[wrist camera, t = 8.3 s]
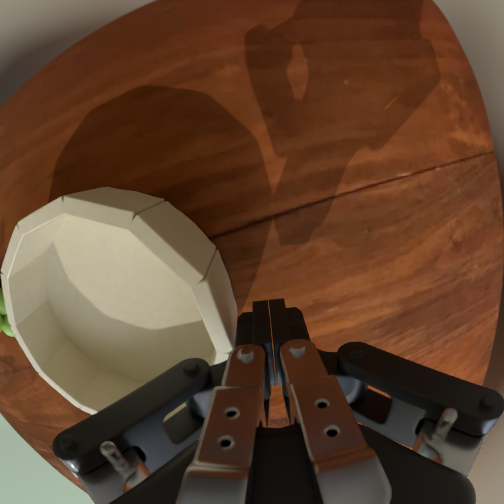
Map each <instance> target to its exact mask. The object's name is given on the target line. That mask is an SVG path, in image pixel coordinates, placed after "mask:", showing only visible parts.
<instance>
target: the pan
mask: <svg viewBox="0 0 504 504" xmlns="http://www.w3.org/2000/svg"><path fill="white" fill-rule="evenodd" d="M1 282H2V289H3V296H4V302H5V307H6V313H7V317H8V322H9V324H10V328H11V330H12V331H13V333H14V335H15V337H16V339H17V341H18V342H19V344H20V346H21V348H22V349H23V351H24V353H25V354H26V356H27V358H28V359H29V361H30V362H31V364H32V365H33V367H34V369H35V370H36V371H37V372H39V373H38V374H39V375H40V376H41V377H42V378H43V379H44V380H45V381H47V382H48V383H49V384H50V385H51V386H52V387H53V388H54V389H56V390H57V391H58V392H59V393H60V394H61V395H63V396H64V397H65V398H66V399H67V400H69V401H70V402H71V403H72V404H74V405H75V406H76V407H77V408H79V407H80V409H81V410H83V411H85V412H87V413H90V414H92V415H94V414H95V413H97V412H99V411H101V410H102V409H104V408H106V407H107V406H109V405H111V404H113V403H114V402H116V401H118V400H119V399H121V398H123V397H124V396H126V395H128V394H129V393H131V392H133V391H134V390H136V389H138V388H139V387H141V386H143V385H144V384H146V383H147V382H149V381H151V380H152V379H154V378H155V377H157V376H159V375H160V374H162V373H163V372H165V371H167V370H168V369H170V368H171V367H173V366H174V365H176V364H177V363H179V362H181V361H183V360H185V359H188V358H201V359H204V360H205V361H207V362H208V364H209V366H211V365H214V364H218V363H221V362H224V361H226V360H227V359H228V356H229V353H230V351H231V350H232V349H234V348H235V337H236V325H237V312H238V311H237V304H236V301H235V298H234V295H233V291H232V287H231V283H230V279H229V276H228V274H227V271H226V269H225V266H224V264H223V261H222V259H221V256H220V253H219V250H216V246H215V245H214V244H213V243H212V242H211V241H210V240H209V239H208V238H207V236H206V235H205V234H204V233H203V232H202V231H201V230H200V229H199V228H198V226H197V225H196V224H195V223H194V222H193V221H191V220H190V219H189V218H188V217H187V216H185V215H184V214H183V213H182V212H181V211H179V210H177V209H176V208H175V207H174V206H172V205H171V204H170V203H169V202H168V201H166V202H164V199H163V198H158V197H154V196H151V195H147V194H144V193H140V192H137V191H130V190H121V189H117V188H112V187H102V188H96V189H91V190H87V191H82V192H77V193H73V194H68V195H64V196H60V197H59V198H57V199H55V200H53V201H51V202H50V203H48V204H46V205H44V206H43V207H41V208H39V209H38V210H36V211H34V212H33V213H31V214H29V215H28V216H26V217H24V218H23V219H21V220H20V221H18V224H17V225H16V226H15V229H14V231H13V234H12V237H11V239H10V242H9V245H8V248H7V251H6V254H5V257H4V261H3V264H2V267H1ZM185 406H186V404H185V403H183V404H182V405H180V406H179V407H178V408H176V409H175V410H173V411H172V412H171V413H169V414H168V415H167V416H166V417H165V419H164V421H165V420H167V419H168V418H170V417H171V416H173V415H174V414H175V413H177V412H178V411H180V410H181V409H182V408H184V407H185Z"/></svg>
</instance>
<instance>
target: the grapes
mask: <svg viewBox="0 0 504 504" xmlns="http://www.w3.org/2000/svg"><path fill="white" fill-rule="evenodd" d="M2 329H3V331H4V332H5V333H6V334H7V335H8V336H12V337H14V336H15V335H14V333H13V331H12V330H11V328H10V324H9V322H8V317H7V313H6V307H5V302H4V296H3V289H2V288H0V332H1V330H2Z"/></svg>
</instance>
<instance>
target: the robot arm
mask: <svg viewBox="0 0 504 504" xmlns="http://www.w3.org/2000/svg"><path fill="white" fill-rule="evenodd" d="M269 307H270V317H271V327H272V337H273V347H274V358H275V368H276V379H277V386H279V385H282V390H283V401H284V405H285V410H286V414H287V419H288V423H289V426H286V427H283V428H269V422H270V403H271V400H270V396H271V386H276V383H275V371H274V360H273V349H272V338H271V328H270V318H269V308H268V300H264V301H254V302H253V312H244V313H242V314H241V315H240V316H239V318H238V320H237V331H236V339H235V348H234V349H232V350H231V351H230V353H229V356H228V359H227V360H226V361H224V362H221V363H218V364H214V365H211V366H209V364H208V362H207V361H205V360H204V359H201V358H188V359H185V360H183V361H181V362H179V363H177V364H176V365H174V366H173V367H171V368H170V369H168V370H167V371H165V372H163V373H162V374H160V375H159V376H157V377H155V378H154V379H152V380H151V381H149V382H147V383H146V384H144V385H143V386H141V387H139V388H138V389H136V390H134V391H133V392H131V393H129V394H128V395H126V396H124V397H123V398H121V399H119V400H118V401H116V402H114V403H113V404H111V405H109V406H107V407H106V408H104V409H102V410H101V411H99V412H97V413H95V414H94V415H92V416H90V417H88V418H86V419H85V420H83V421H81V422H79V423H77V424H76V425H74V426H72V427H70V428H68V429H66V430H64V431H63V432H61V433H60V434H58V435H57V436H56V438H55V439H54V441H53V451H54V453H55V455H56V456H57V457H58V458H59V459H60V460H61V461H62V462H63V463H64V464H65V465H66V466H67V468H68V469H69V470H70V471H71V472H72V473H73V474H74V475H75V476H76V477H77V478H78V479H79V480H80V482H81V484H82V485H83V487H84V488H85V490H86V491H87V493H88V494H89V496H90V497H91V499H92V500H93V502H94V503H95V504H475V503H476V495H475V490H474V487H473V485H472V483H471V482H470V480H469V479H468V478H467V476H468V474H469V472H470V470H471V468H472V466H473V463H474V461H475V459H476V457H477V455H478V452H479V450H480V448H481V445H482V443H483V440H484V439H485V438H486V436H487V435H488V434H489V432H490V431H491V429H492V428H493V427H494V425H495V423H496V422H497V420H498V419H499V417H500V416H501V414H502V413H503V411H504V399H503V397H502V396H501V395H500V394H499V393H498V392H497V391H495V390H492V389H489V388H486V387H483V386H480V385H477V384H474V383H471V382H468V381H465V380H462V379H459V378H456V377H453V376H450V375H448V374H445V373H442V372H439V371H436V370H434V369H431V368H428V367H425V366H423V365H420V364H417V363H415V362H412V361H409V360H407V359H404V358H401V357H399V356H396V355H394V354H391V353H389V352H386V351H383V350H381V349H378V348H376V347H373V346H371V345H368V344H366V343H363V342H349V343H346V344H344V345H342V346H341V347H340V348H339V349H338V351H337V352H325V351H321V350H319V349H317V348H316V346H315V344H314V343H312V342H311V341H310V337H309V334H308V331H307V327H306V324H305V321H304V318H303V314H302V312H301V311H300V310H299V309H298V308H296V307H291V308H286V307H285V302H284V298H282V299H273V300H269ZM368 385H370V386H372V387H374V388H376V389H378V390H380V391H383V392H385V393H387V394H388V395H389V396H390V397H391V399H390V398H388V397H386V396H384V395H381V394H379V393H377V392H375V391H373V390H371V389H369V388H368ZM183 403H185V404H186V406H185V407H184V408H182V409H181V410H180V411H178V412H177V413H175V414H174V415H173V416H171V417H170V418H168V419H167V420H165V421H164V419H165V417H166V416H167V415H168V414H169V413H171V412H172V411H173V410H175V409H176V408H178V407H179V406H180V405H182V404H183ZM357 421H358V422H360V423H362V424H364V425H365V426H364V425H361V424H358V423H357ZM382 434H383V435H382ZM384 435H385V436H384ZM386 436H387V437H386ZM388 437H389V438H388ZM390 438H391V439H390ZM197 439H199V440H197ZM392 439H393V440H395V441H397V442H399V443H401V444H403V445H406V446H408V447H410V448H412V449H413V450H411V449H409V448H407V447H405V446H403V445H401V444H399V443H397V442H395V441H393V440H392ZM196 440H197V441H196ZM161 466H162V467H161ZM158 468H159V469H158ZM157 469H158V470H157ZM154 471H155V472H154ZM153 472H154V473H153ZM151 473H152V474H151ZM150 474H151V475H150Z"/></svg>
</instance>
